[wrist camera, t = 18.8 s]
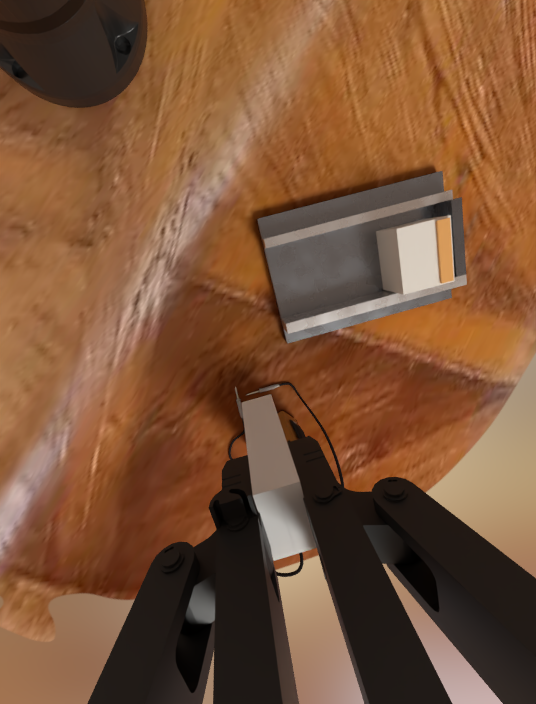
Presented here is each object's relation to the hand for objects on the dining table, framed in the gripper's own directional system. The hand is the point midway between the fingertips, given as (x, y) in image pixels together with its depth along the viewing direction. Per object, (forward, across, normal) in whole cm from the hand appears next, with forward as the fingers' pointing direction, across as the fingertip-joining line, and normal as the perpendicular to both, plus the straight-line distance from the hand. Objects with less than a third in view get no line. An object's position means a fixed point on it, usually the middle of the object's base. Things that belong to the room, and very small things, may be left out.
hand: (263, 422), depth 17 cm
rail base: (+26, +16, +3) cm, 31 cm away
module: (+25, +21, +2) cm, 33 cm away
